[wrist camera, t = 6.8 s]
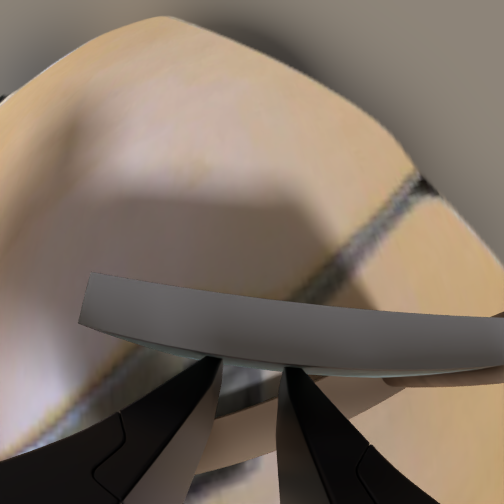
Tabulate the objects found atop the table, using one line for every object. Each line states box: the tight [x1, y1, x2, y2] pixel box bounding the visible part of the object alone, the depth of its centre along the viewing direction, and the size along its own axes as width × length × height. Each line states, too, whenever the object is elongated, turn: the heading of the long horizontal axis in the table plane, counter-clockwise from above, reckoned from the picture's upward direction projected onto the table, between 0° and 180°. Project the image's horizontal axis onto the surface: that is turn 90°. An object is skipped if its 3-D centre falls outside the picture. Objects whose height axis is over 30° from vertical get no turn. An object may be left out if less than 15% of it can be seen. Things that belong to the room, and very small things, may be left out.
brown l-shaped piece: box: [194, 312, 504, 475], centre depth 10 cm, size 3×14×11 cm, turn 111°
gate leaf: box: [78, 272, 504, 378], centre depth 10 cm, size 1×10×9 cm, turn 82°
